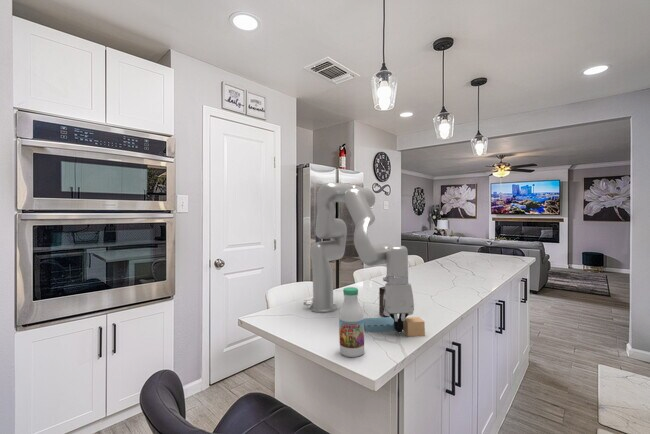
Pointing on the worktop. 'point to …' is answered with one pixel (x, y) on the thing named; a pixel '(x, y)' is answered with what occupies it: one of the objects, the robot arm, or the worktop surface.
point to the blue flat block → (379, 324)
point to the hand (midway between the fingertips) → (398, 331)
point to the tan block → (414, 326)
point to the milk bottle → (351, 325)
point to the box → (381, 301)
